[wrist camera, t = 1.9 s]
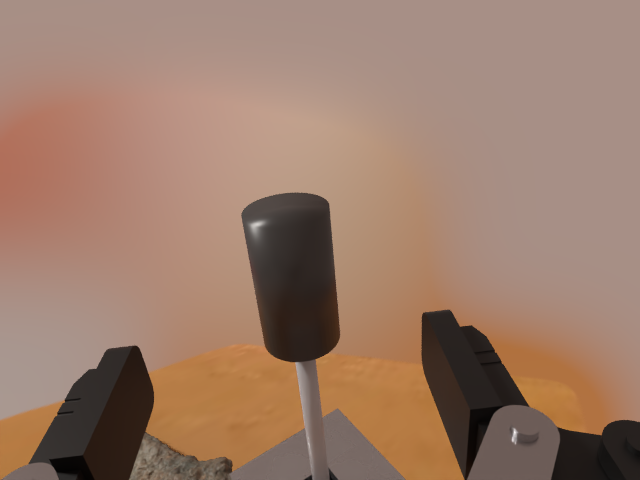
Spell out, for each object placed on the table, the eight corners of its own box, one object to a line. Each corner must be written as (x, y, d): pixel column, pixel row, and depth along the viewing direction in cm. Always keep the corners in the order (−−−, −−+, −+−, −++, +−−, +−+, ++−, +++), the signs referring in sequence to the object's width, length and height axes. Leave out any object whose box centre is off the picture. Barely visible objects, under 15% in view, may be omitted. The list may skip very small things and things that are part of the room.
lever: (286, 514, 35) (227, 209, 24) (333, 482, 37) (299, 186, 26) (318, 564, 32) (267, 237, 20) (367, 525, 34) (346, 209, 22)
